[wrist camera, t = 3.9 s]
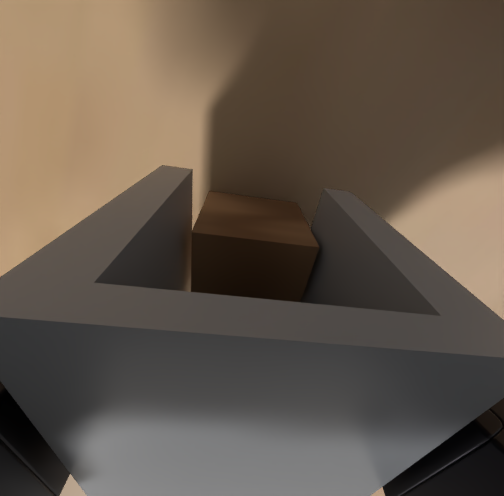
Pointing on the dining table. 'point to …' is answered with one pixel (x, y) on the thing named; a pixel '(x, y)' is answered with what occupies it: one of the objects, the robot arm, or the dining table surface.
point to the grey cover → (241, 356)
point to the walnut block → (251, 248)
